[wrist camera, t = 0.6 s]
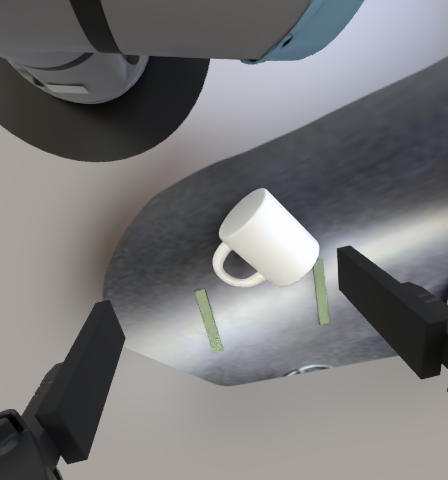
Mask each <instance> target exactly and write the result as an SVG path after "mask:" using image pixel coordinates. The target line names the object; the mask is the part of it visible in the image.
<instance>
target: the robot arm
mask: <svg viewBox="0 0 448 480" xmlns="http://www.w3.org/2000/svg"><path fill="white" fill-rule="evenodd" d="M363 2H364V0H0V57H1V58H4V59H6V60H7V61H8V62H9V63H10V64H11V65H12V66H13V67H14V68H15V69H16V70H17V71H18V72H19V73H20V74H21V75H22V76H23V77H24V78H26V79H27V80H28V81H29V82H31V83H32V84H34V85H35V86H37V87H38V88H40V89H42V90H43V91H45V92H47V93H49V94H51V95H53V96H55V97H58V98H61V99H63V100H67V101H71V102H76V103H83V104H96V103H103V102H107V101H110V100H113V99H115V98H117V97H119V96H121V95H122V94H124V93H125V92H127V91H128V90H129V89H130V88H131V87H132V86H133V85H134V84H135V83H136V82H137V81H138V79H139V78H140V76H141V75H142V73H143V71H144V69H145V67H146V65H147V62H148V59H149V56H168V57H191V58H213V59H237V60H241V62H243V63H245V64H258V63H261V62H265V61H279V60H280V61H289V60H290V61H292V60H300V59H303V58H305V57H307V56H310V55H313V54H315V53H316V52H318V51H320V50H322V49H323V48H324V47H326V46H327V45H328V44H329V43H330V42H331V41H332V40H334V38H336V37H337V35H338V34H339V33H340V32H341V31H342V30H343V29H344V28H345V26H346V25H347V24H348V23H349V21H350V20H351V19H352V18H353V16H354V15H355V14H356V12H357V11H358V9H359V8H360V6H361V5H362V3H363ZM337 258H338V282H339V290H340V291H341V292H342V293H343V294H344V295H345V296H346V297H347V299H348V300H349V301H350V302H351V303H352V304H353V305H354V306H355V307H356V308H357V310H358V311H359V312H360V313H361V314H362V315H363V316H364V317H365V318H366V319H367V321H368V322H369V323H370V324H371V325H372V326H373V327H374V328H375V329H376V330H377V332H378V333H379V334H380V335H381V336H382V337H383V338H384V339H385V340H386V341H387V343H388V344H389V345H390V346H391V347H392V348H393V349H394V350H395V351H396V352H397V354H398V355H399V356H400V357H401V358H402V359H403V360H404V361H405V362H406V363H407V364H408V366H409V367H410V368H411V369H412V370H413V371H414V372H415V373H416V374H417V376H418V377H419V378H420V379H425V378H430V377H433V376H438V375H440V371H441V364H443V365H444V366H445V367H446V368H447V369H448V305H447V304H446V303H444V302H443V301H441V300H439V298H437V297H436V296H434V295H431V293H430V292H428V291H427V290H426V289H424V288H423V287H421V286H418V285H416V284H413V283H411V282H406V283H402V284H401V283H400V282H398V281H397V280H396V279H394V278H393V277H392V276H390V275H389V274H388V273H386V272H385V271H384V270H382V269H381V268H380V267H378V266H377V265H376V264H374V263H373V262H372V261H370V260H369V259H368V258H366V257H365V256H364V255H362V254H361V253H360V252H358V251H357V250H355V249H354V248H353V247H351V246H345V247H341V248H337ZM124 341H125V336H124V333H123V331H122V328H121V326H120V324H119V321H118V319H117V317H116V314H115V312H114V310H113V307H112V305H111V302H110V300H106V301H102V302H98V303H96V304H95V305H94V307H93V309H92V311H91V313H90V315H89V316H88V318H87V320H86V322H85V324H84V326H83V327H82V329H81V331H80V333H79V335H78V337H77V338H76V340H75V342H74V344H73V346H72V347H71V349H70V352H69V353H68V355H67V357H66V358H65V360H64V362H63V363H59V364H56V365H55V366H54V367H53V368H52V369H51V370H50V371H49V372H48V373H47V374H46V375H45V377H44V379H43V380H42V382H41V384H40V387H38V389H37V391H36V392H35V395H34V396H33V397H32V399H31V401H30V402H29V405H28V406H27V408H26V409H25V411H24V413H23V414H22V416H20V415H19V413H18V412H17V411H16V410H15V409H8V410H5V411H2V412H0V480H63V478H62V476H61V474H60V471H59V470H58V469H57V467H56V465H57V463H58V461H59V458H60V456H62V457H63V459H64V460H65V462H66V463H67V464H71V463H75V462H79V461H83V460H87V459H88V456H89V453H90V449H91V446H92V443H93V440H94V436H95V434H96V430H97V427H98V424H99V421H100V417H101V414H102V411H103V408H104V405H105V402H106V398H107V395H108V392H109V389H110V386H111V382H112V379H113V376H114V373H115V370H116V367H117V363H118V360H119V357H120V354H121V351H122V348H123V344H124ZM447 392H448V389H447Z"/></svg>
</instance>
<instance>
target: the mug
mask: <svg viewBox="0 0 448 480" xmlns="http://www.w3.org/2000/svg"><path fill="white" fill-rule="evenodd" d="M219 237H220V239H221V240H222V241H223V242H222V243H221V244H220V246H219V247H218V249H217V250H216V252H215V254H214V257H213V268H214V270H215V272H216V274H217V275H218V276H219V277H220V278H221V279H222V280H223V281H225V282H226V283H228V284H230V285H233V286H237V287H252V286H255V285H258V284H260V283H262V282H263V281H265V280H269V281H270V282H271V283H272V284H273V285H275V286H278V287H285V286H289V285H291V284H294V283H296V282H297V281H299V280H300V279H302V278H303V277H304V276H305V275H306V274H307V273H308V272H309V271H310V270H311V268H312V267H313V266H314V264H315V262H316V260H317V258H318V254H319V245H318V242H317V241H316V240H315V239H314V238H313V237H312V236H311V235H310V234H309V233H308V231H307V230H306V229H305V228H304V227H303V226H302V225H301V224H300V223H299V222H298V221H297V220H296V219H295V218H294V217H293V216H292V215H291V214H290V213H289V212H288V211H287V210H286V209H285V208H284V207H283V206H282V205H281V204H280V203H279V202H278V201H277V200H276V199H275V198H274V197H273V196H272V195H271V194H270V193H269V192H268V191H267V190H266V189H264V188H261V189H257V190H255V191H253V192H251V193H250V194H248V195H247V196H246V197H244V198H243V199H242V200H241V201H240V202H239V203H238V204H237V205H236V206H235V207H234V208H233V209H232V210H231V211H230V213H229V214H228V215H227V217H226V218H225V220H224V221H223V223H222V225H221V227H220V230H219ZM231 250H234V251H235V252H236V253H237V254H239V255H240V256H241V257H242V258H243V259H244V260H245V261H247V262H248V263H249V264H250V265H251V266H252V267H254V268H255V269H256V270H257V271H258V272H256V273H255V274H254V275H252V276H250V277H248V278H246V279H237V278H234V277H232V276H230V275H229V274H227V273H226V272H225V271H224V269H223V263H224V260H225V258H226V257H227V255H228V254H229V252H230V251H231Z"/></svg>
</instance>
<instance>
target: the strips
mask: <svg viewBox="0 0 448 480" xmlns="http://www.w3.org/2000/svg"><path fill="white" fill-rule="evenodd" d="M313 271H314V280H315V288H316V297H317V306H318V314H319V323H320V325H323V324H327V323H329V317H328V307H327V297H326V287H325V277H324V267H323V259H318V260H316V262H315V264H314V266H313ZM195 295H196V298H197V301H198V304H199V308H200V311H201V314H202V317H203V320H204V324H205V327H206V330H207V333H208V336H209V339H210V343H211V346H212V349H213V352H218V351H222V346H221V343H220V339H219V336H218V333H217V329H216V326H215V323H214V319H213V316H212V312H211V309H210V306H209V302H208V299H207V296H206V292H205V289H200V290H196V291H195Z"/></svg>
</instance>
